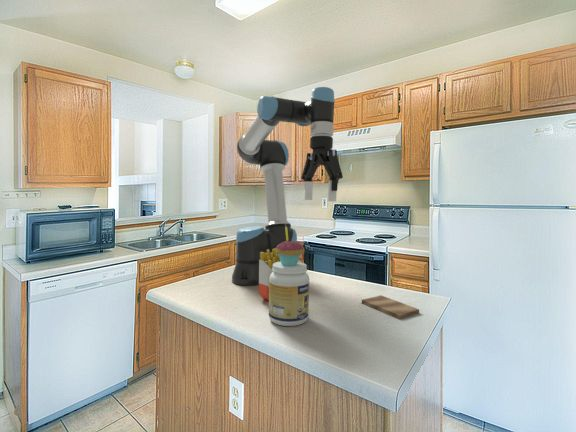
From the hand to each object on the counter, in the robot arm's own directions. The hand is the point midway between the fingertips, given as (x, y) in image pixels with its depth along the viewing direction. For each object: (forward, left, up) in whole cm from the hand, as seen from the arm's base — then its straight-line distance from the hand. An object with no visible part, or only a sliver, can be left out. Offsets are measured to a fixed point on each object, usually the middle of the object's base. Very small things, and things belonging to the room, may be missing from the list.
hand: (319, 200), depth 104 cm
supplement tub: (+6, -15, -36) cm, 40 cm away
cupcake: (+6, -15, -19) cm, 25 cm away
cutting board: (+15, +20, -36) cm, 44 cm away
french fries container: (-12, -10, -36) cm, 40 cm away
